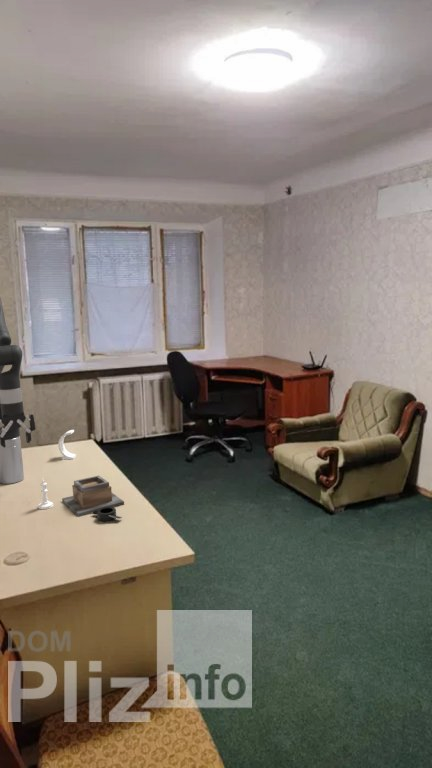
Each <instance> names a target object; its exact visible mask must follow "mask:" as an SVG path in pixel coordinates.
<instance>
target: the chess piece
mask: <svg viewBox="0 0 432 768" xmlns="http://www.w3.org/2000/svg"><path fill="white" fill-rule="evenodd" d="M41 481H42V483H40V486H41V488H42V489H41V493H42V501H41V502H40V503H38V505H37V506H38V507H37V509H39V510H47V509H50V508H51V509H52V508H53V507H54V503H53V502H52V501H49V500H48V495H47V492H48V489H47V486H48V485H47V484H48V483H47V482H46V481H45V478H44V477H42V479H41Z"/></svg>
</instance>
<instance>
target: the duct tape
mask: <svg viewBox="0 0 432 768" xmlns="http://www.w3.org/2000/svg"><path fill="white" fill-rule="evenodd" d="M91 515H96V516H97V522H98V521H99V522H102V523H110V522H113V521H115V520H116V519H117V520H118V519H119V520H120V519H122V518H123V516H118V515H117V510H116V507H104V508H101V509H99V510H97V511H94V512H93V513H91Z"/></svg>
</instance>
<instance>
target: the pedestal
mask: <svg viewBox="0 0 432 768" xmlns="http://www.w3.org/2000/svg"><path fill="white" fill-rule="evenodd" d="M61 500H62V502H63V503H64V504H65V505H66V506H67V507H68V508H69V509H70V510H71V511H72V512H73V513H74V514H75V515H76V516H77V517H81V516H86V515H89V514H92V513H93V512H94V511H97V510H99V509H101V508H104V507H113V508H116V507H118V506H124V505H125V501H124V500H123V499H122V498H120V497H119V496H118V495H116V494H114V493H113V492H112V486H110V482H109V481H107V479H105V478H103V477H102V476H100V475H95V476H91V477H86V478H82V479H77V480H73V485H72V495H71V496H66V497H62V498H61Z"/></svg>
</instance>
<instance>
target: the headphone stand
mask: <svg viewBox="0 0 432 768" xmlns="http://www.w3.org/2000/svg"><path fill="white" fill-rule="evenodd" d="M73 433H75V429H70V430H68V431H66V432H65V433H64V434H62V436H61V437H60V438H59V440H58V445H57V447H58V451H59V452H60V454H61V455H62V457H61V460H74V459H75V458H76V457H77V454H76V453H71V452H69V451H68V450H67V449H66V447H65V444H64V442H65V441H64V440H65V438H66V436H68V435H72V434H73Z"/></svg>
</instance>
